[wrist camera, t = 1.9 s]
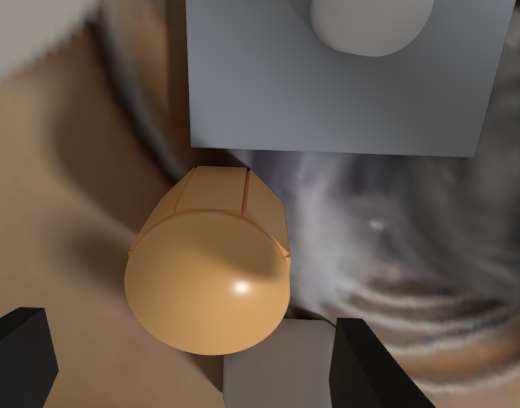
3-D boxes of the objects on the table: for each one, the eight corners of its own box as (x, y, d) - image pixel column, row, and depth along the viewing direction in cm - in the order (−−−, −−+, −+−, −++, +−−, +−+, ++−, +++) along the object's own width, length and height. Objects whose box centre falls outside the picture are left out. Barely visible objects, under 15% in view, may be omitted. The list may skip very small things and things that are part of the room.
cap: (287, 169, 15) (295, 220, 11) (279, 277, 17) (284, 357, 13) (157, 164, 15) (115, 214, 11) (165, 273, 17) (132, 352, 13)
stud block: (537, -158, 11) (701, -277, 7) (460, 150, 15) (539, 194, 10) (186, -172, 11) (137, -298, 7) (195, 140, 14) (168, 180, 10)
